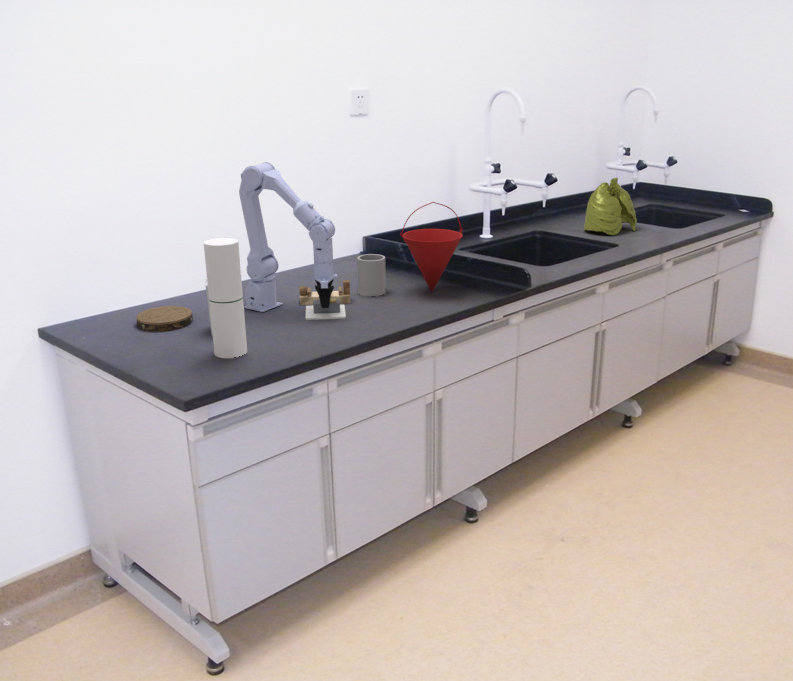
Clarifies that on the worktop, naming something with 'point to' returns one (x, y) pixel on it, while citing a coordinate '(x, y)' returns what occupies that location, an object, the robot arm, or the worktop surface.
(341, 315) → the white base plate
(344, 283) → the wooden block stand
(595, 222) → the lungs
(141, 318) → the wood slice
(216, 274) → the container
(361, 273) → the cup
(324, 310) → the lever cap
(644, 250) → the worktop surface
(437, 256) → the fire bucket
